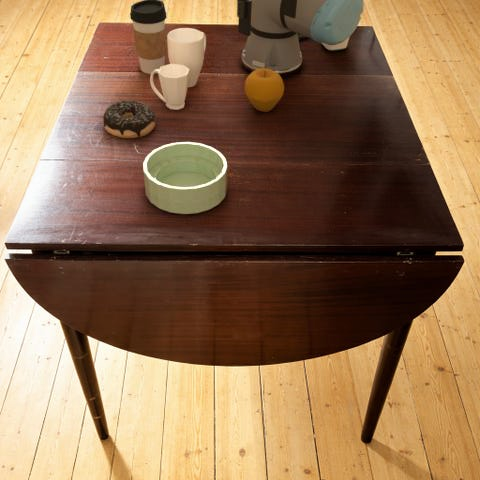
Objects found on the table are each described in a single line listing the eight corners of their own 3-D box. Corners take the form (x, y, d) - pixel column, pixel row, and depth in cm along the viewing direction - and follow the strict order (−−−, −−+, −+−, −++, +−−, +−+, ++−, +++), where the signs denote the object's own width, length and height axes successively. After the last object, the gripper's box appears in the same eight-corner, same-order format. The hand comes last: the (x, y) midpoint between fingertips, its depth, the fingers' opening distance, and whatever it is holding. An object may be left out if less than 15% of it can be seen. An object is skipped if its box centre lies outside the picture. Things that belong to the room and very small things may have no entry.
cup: (179, 115, 136) (177, 80, 130) (143, 103, 139) (140, 68, 133) (196, 102, 140) (196, 68, 134) (161, 91, 143) (158, 57, 138)
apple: (239, 100, 142) (240, 62, 135) (277, 97, 143) (280, 59, 136) (247, 120, 136) (249, 81, 129) (286, 117, 137) (290, 78, 130)
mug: (192, 95, 143) (190, 45, 134) (162, 85, 145) (159, 37, 137) (218, 75, 150) (219, 27, 141) (190, 66, 152) (189, 19, 144)
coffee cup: (175, 71, 151) (172, 7, 140) (145, 79, 147) (139, 14, 136) (159, 58, 155) (154, -5, 144) (129, 65, 152) (122, 2, 141)
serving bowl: (189, 159, 124) (188, 133, 120) (243, 192, 117) (244, 165, 113) (129, 190, 117) (125, 163, 112) (182, 227, 109) (181, 200, 105)
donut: (101, 140, 128) (99, 123, 125) (107, 112, 136) (105, 95, 133) (154, 141, 129) (153, 123, 126) (157, 112, 137) (156, 95, 134)
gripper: (240, -80, 102) (237, 47, 118) (334, -104, 114) (320, 14, 130) (210, -90, 106) (210, 35, 121) (304, -112, 118) (294, 4, 134)
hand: (267, 24), depth 126 cm, fingers open, 13 cm apart
